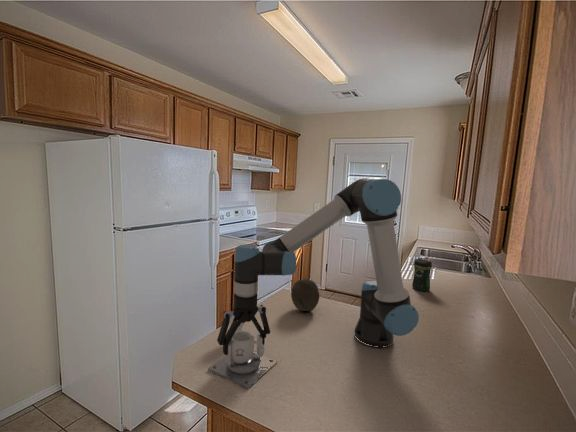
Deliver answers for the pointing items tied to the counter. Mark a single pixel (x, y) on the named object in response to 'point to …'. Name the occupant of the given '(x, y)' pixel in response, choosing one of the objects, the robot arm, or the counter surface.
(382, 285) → the robot arm
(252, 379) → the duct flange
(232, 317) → the lightbulb
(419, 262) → the coffee jar
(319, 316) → the counter surface
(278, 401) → the counter surface
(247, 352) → the mug
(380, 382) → the counter surface
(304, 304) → the coconut
